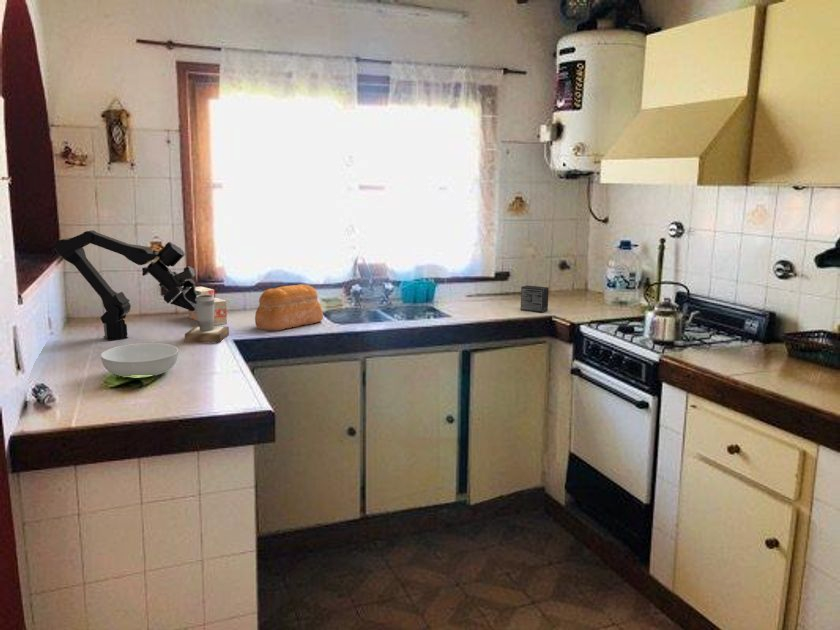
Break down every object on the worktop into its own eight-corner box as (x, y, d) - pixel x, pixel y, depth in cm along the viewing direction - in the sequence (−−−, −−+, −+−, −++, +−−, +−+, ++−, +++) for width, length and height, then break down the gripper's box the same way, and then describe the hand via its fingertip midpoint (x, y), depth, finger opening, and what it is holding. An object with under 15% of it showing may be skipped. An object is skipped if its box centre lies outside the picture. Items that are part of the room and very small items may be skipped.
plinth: (185, 342, 239) (184, 333, 239) (195, 334, 251) (195, 325, 251) (220, 342, 240) (219, 333, 239) (229, 334, 251) (228, 326, 251)
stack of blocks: (227, 324, 269) (226, 292, 267) (212, 326, 265) (210, 294, 263) (203, 315, 285) (201, 285, 282) (188, 317, 281) (186, 287, 278)
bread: (327, 322, 275) (326, 284, 272) (273, 333, 255) (271, 292, 252) (304, 317, 283) (303, 280, 280) (250, 327, 264) (249, 288, 261)
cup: (192, 329, 245) (190, 295, 242) (209, 326, 250) (207, 293, 247) (203, 332, 240) (202, 298, 238) (220, 329, 245) (219, 296, 243)
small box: (548, 310, 302) (549, 286, 300) (542, 313, 297) (543, 288, 295) (525, 308, 308) (526, 284, 306) (519, 310, 302) (520, 286, 300)
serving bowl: (97, 387, 189) (95, 363, 188) (107, 367, 209) (106, 345, 208) (178, 382, 195) (176, 358, 194) (181, 362, 215) (179, 341, 213)
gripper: (171, 263, 230) (206, 296, 233) (188, 256, 249) (220, 287, 251) (148, 286, 232) (183, 319, 234) (167, 278, 250) (199, 308, 253)
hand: (198, 307), depth 243 cm, fingers open, 9 cm apart
